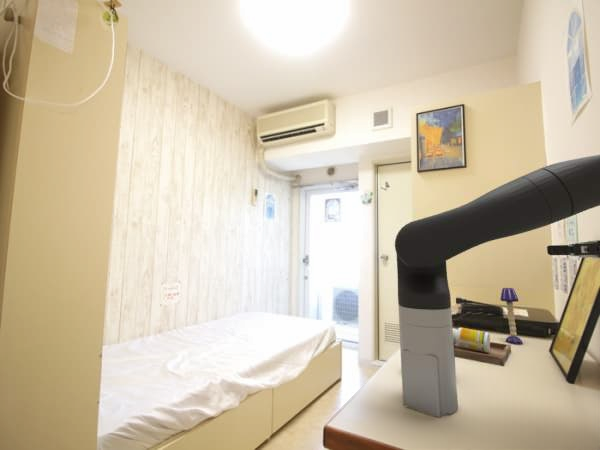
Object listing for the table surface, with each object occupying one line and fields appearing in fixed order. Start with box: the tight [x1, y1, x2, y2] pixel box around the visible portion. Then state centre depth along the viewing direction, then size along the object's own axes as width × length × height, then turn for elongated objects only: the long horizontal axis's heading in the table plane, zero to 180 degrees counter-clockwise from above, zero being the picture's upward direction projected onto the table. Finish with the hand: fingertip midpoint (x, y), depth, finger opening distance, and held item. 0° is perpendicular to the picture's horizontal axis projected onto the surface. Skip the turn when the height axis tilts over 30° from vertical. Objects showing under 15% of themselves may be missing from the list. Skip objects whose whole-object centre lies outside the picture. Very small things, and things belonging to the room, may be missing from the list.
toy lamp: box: [500, 287, 524, 345], centre depth 92 cm, size 5×5×17 cm
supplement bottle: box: [452, 327, 491, 353], centre depth 82 cm, size 5×5×10 cm
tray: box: [454, 341, 512, 367], centre depth 81 cm, size 15×14×2 cm
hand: (547, 250), depth 71 cm, fingers open, 8 cm apart
